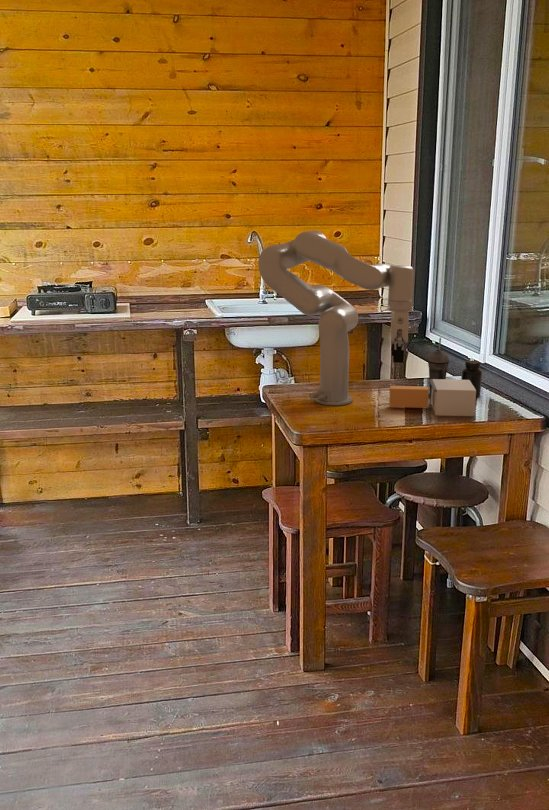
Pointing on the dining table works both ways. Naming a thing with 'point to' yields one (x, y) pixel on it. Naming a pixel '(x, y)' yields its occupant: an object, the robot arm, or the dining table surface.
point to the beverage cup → (437, 365)
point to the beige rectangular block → (453, 397)
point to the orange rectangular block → (409, 396)
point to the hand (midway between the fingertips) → (397, 359)
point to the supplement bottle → (473, 375)
